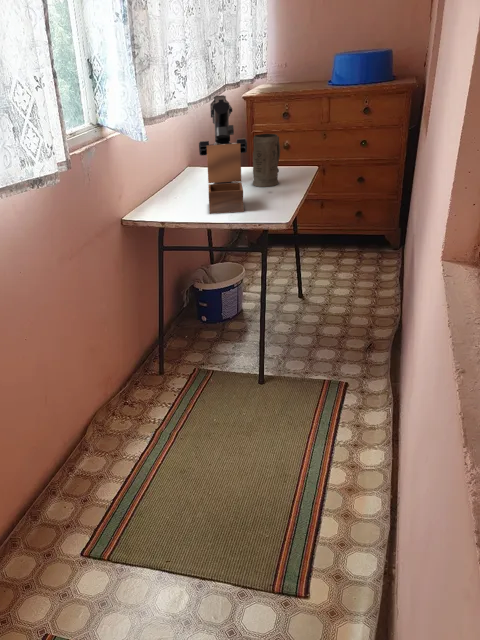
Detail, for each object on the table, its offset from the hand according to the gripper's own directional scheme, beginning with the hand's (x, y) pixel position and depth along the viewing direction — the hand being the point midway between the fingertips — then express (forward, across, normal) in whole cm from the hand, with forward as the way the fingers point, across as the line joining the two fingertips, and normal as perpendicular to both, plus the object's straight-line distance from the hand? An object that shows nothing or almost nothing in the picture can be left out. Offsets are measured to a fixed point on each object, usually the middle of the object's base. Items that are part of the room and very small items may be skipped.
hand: (223, 165), depth 236 cm
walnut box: (+19, 0, -2) cm, 19 cm away
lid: (+4, 0, -7) cm, 8 cm away
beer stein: (-6, +19, +24) cm, 31 cm away
